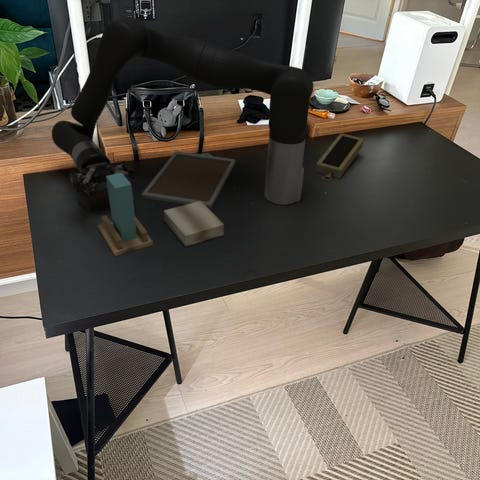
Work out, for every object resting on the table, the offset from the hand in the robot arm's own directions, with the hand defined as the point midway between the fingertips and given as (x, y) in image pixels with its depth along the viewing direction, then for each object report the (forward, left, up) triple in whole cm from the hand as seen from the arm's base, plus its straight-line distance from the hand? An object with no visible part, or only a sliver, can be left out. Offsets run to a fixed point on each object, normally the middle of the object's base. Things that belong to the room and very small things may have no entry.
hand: (112, 190), depth 110 cm
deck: (-18, +1, -10) cm, 21 cm away
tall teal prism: (-2, +4, -9) cm, 10 cm away
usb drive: (+5, -13, -11) cm, 17 cm away
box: (-62, -30, -10) cm, 70 cm away
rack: (-2, +4, -10) cm, 11 cm away
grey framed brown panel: (-19, -25, -11) cm, 33 cm away
